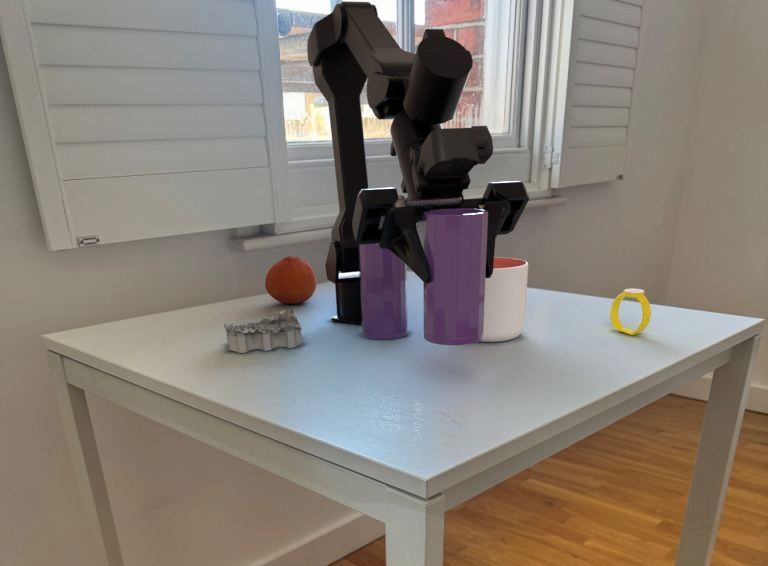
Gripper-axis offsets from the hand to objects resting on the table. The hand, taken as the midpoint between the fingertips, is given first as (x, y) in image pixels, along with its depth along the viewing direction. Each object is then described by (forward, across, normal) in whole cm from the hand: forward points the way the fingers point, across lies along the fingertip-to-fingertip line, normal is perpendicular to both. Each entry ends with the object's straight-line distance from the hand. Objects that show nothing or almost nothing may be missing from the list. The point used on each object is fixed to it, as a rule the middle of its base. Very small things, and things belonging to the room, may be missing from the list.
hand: (459, 278), depth 74 cm
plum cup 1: (-11, 0, +29) cm, 31 cm away
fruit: (-30, -9, +49) cm, 58 cm away
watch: (-2, +32, +20) cm, 38 cm away
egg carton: (-11, -18, +30) cm, 36 cm away
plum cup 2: (+4, 0, +6) cm, 7 cm away
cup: (-6, +13, +24) cm, 28 cm away
